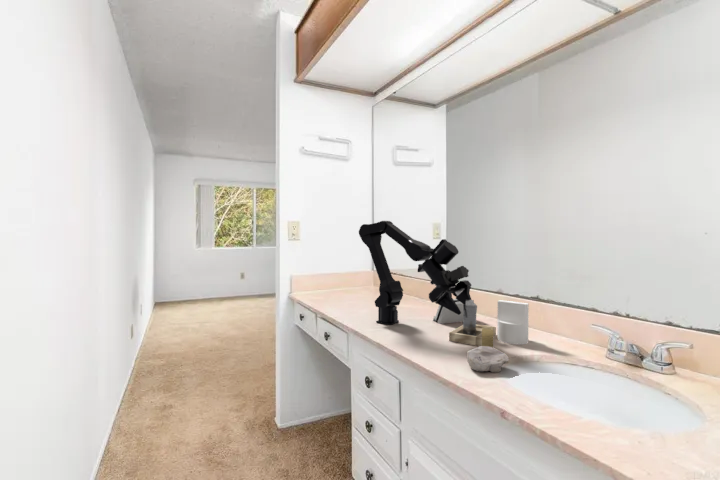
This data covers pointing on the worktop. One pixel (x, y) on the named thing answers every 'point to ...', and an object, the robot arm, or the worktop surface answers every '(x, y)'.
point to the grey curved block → (449, 314)
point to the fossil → (486, 359)
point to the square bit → (487, 336)
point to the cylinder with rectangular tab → (512, 322)
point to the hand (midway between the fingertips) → (467, 311)
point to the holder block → (468, 336)
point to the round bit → (469, 318)
